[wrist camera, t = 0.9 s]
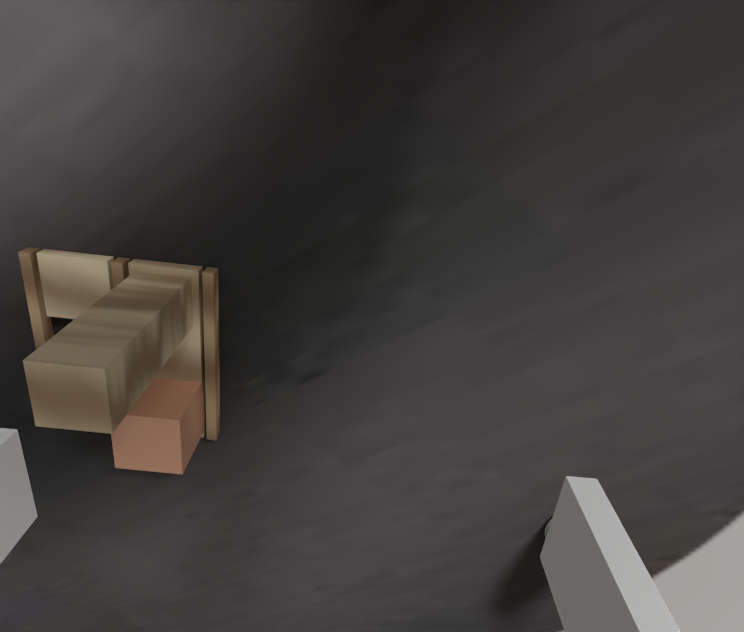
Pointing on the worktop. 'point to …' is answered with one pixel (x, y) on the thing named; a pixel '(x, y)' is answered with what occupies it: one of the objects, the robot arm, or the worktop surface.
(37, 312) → the lane rails
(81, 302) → the broken strip
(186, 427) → the terracotta cube
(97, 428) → the tan boxy piece
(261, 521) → the worktop surface
